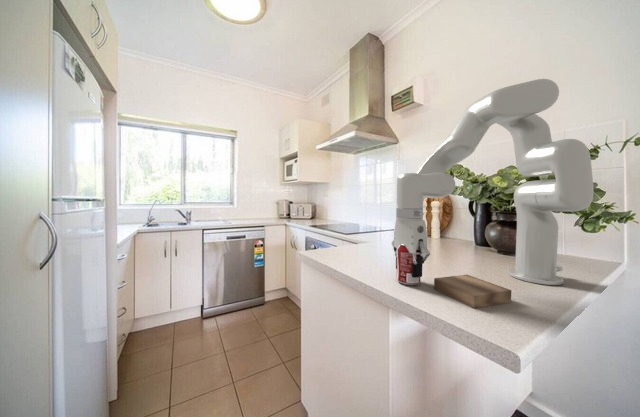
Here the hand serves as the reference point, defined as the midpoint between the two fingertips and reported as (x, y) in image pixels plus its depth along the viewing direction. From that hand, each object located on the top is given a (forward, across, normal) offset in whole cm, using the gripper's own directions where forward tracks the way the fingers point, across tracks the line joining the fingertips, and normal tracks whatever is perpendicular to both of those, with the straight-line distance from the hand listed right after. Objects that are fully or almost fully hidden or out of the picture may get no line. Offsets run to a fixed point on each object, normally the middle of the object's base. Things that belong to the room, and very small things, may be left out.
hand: (408, 272), depth 67 cm
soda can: (+3, 0, 0) cm, 3 cm away
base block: (+3, -12, -10) cm, 16 cm away
